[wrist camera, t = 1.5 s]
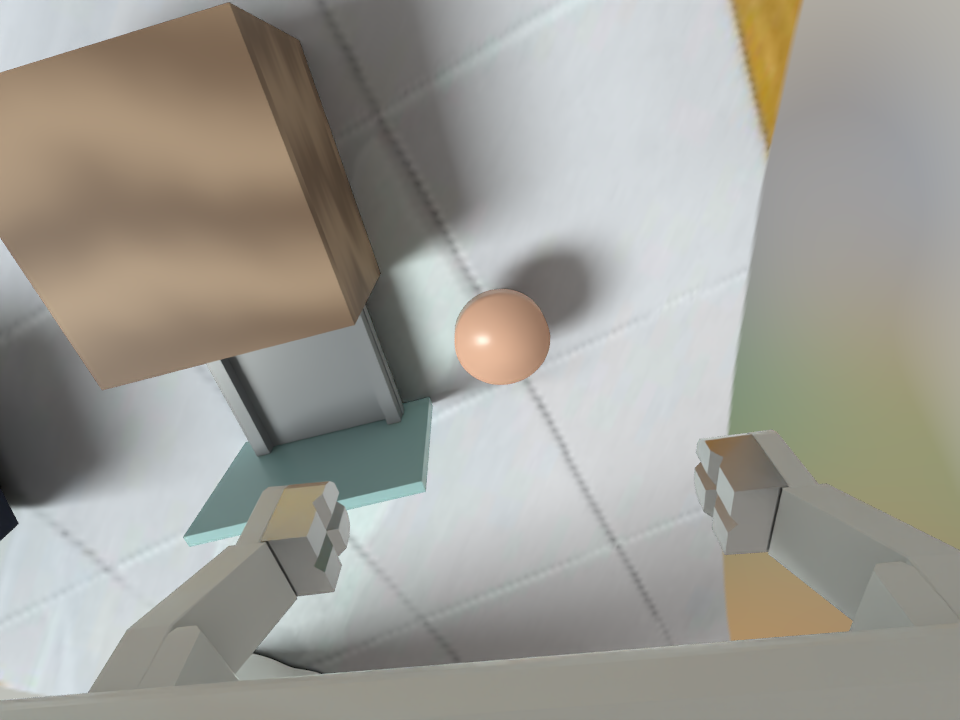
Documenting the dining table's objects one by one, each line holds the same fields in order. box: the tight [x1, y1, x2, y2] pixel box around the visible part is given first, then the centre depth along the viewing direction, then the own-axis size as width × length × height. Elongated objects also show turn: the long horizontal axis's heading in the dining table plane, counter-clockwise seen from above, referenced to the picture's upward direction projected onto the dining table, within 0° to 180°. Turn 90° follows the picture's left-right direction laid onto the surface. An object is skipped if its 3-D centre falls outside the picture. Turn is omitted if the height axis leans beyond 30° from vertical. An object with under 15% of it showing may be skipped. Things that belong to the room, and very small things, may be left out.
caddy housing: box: [0, 2, 381, 390], centre depth 27 cm, size 14×14×10 cm
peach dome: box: [455, 289, 550, 385], centre depth 32 cm, size 6×6×2 cm
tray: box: [183, 305, 433, 547], centre depth 32 cm, size 13×15×10 cm
